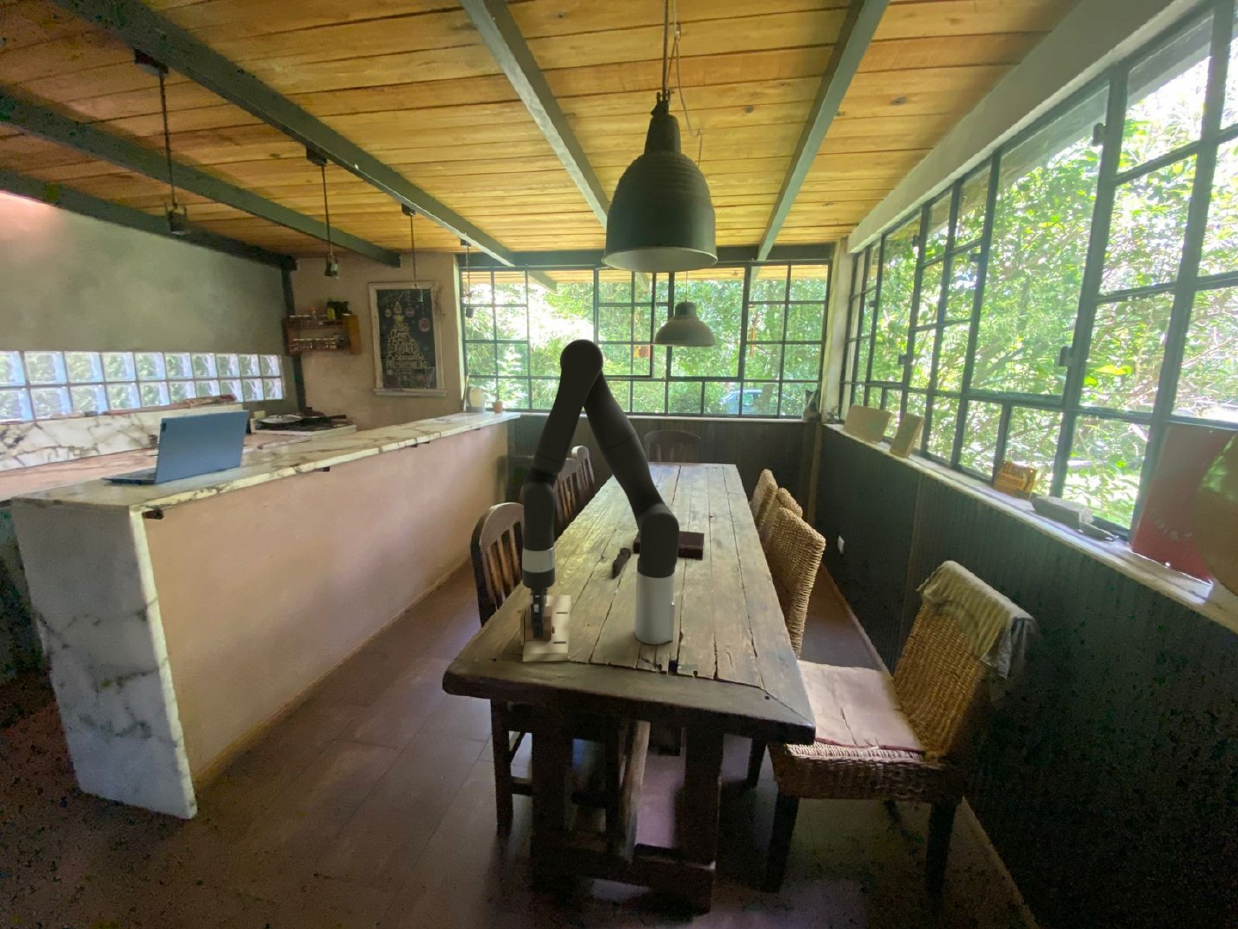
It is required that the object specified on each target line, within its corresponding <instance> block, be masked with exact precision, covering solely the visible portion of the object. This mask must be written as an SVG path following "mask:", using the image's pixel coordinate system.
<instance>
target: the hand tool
mask: <svg viewBox="0 0 1238 929" xmlns="http://www.w3.org/2000/svg"><path fill="white" fill-rule="evenodd" d="M631 555H632V550H631V549H630V548H628V547H621V548H620V549H619V553H618V554H617V555H616V558H615V559H614V560H613V562H612V568H611V572H612V578H613V579H615V578H618V576H619V575H621V572H622V569H623V567H624V566H625V564H626V562H628V559H630V557H632V556H631Z"/></svg>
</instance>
